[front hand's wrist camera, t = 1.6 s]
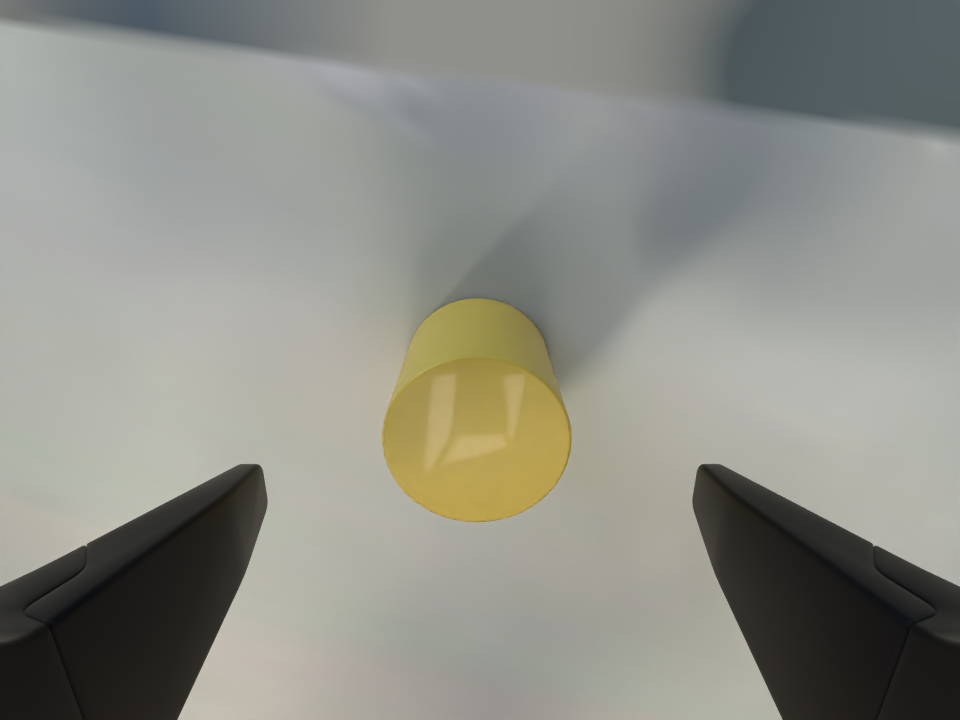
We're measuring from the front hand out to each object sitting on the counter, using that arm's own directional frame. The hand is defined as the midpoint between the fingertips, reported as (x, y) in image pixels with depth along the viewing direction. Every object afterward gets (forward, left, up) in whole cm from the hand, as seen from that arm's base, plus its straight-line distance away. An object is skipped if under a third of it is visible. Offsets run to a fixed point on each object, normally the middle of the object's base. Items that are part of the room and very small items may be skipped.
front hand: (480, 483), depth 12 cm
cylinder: (0, 0, -6) cm, 6 cm away
